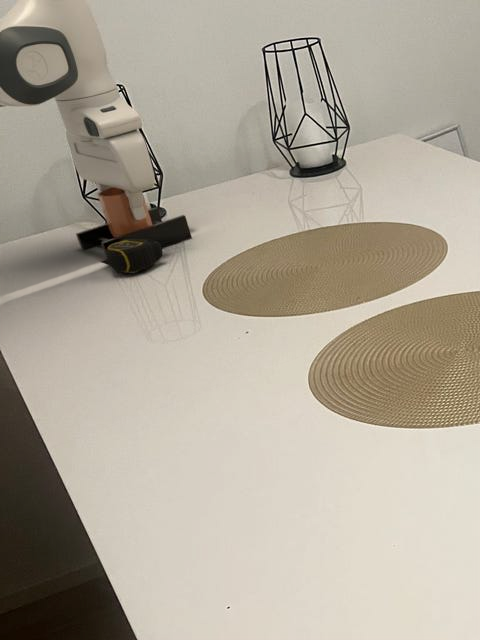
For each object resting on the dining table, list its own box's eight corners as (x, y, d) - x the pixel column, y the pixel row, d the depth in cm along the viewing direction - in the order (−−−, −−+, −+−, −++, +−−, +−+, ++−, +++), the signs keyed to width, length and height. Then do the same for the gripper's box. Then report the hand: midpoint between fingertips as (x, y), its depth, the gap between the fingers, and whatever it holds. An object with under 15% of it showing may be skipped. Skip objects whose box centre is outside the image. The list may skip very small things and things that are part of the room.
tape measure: (169, 262, 142) (160, 236, 139) (137, 278, 137) (128, 252, 135) (135, 260, 145) (126, 234, 142) (103, 276, 140) (93, 250, 138)
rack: (111, 266, 144) (103, 243, 142) (84, 255, 150) (75, 233, 148) (192, 238, 150) (185, 215, 148) (162, 229, 156) (155, 207, 154)
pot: (123, 240, 145) (109, 198, 141) (105, 234, 149) (90, 193, 145) (160, 227, 148) (147, 186, 144) (141, 222, 152) (128, 182, 148)
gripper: (45, 116, 143) (81, 212, 152) (103, 126, 131) (139, 230, 139) (84, 106, 146) (117, 201, 155) (144, 114, 134) (176, 217, 142)
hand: (128, 215), depth 147 cm, fingers closed on pot, 6 cm apart
